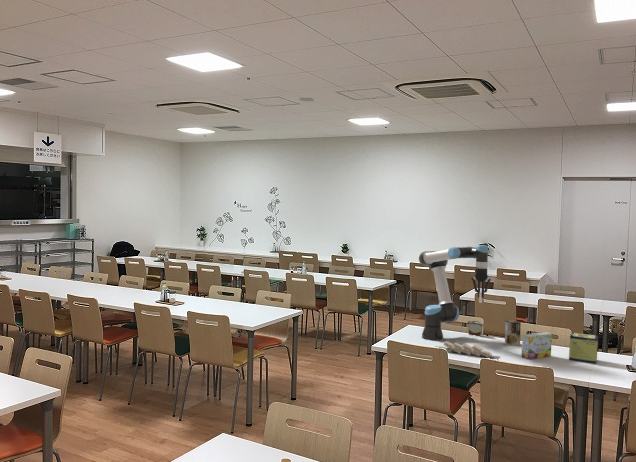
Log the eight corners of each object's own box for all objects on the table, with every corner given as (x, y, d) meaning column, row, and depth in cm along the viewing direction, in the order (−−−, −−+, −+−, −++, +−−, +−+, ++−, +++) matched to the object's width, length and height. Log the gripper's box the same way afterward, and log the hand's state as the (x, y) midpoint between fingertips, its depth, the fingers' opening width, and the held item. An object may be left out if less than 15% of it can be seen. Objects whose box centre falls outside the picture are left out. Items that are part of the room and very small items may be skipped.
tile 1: (489, 358, 328) (471, 349, 334) (491, 356, 333) (473, 347, 338) (490, 355, 328) (472, 346, 334) (492, 353, 332) (474, 344, 338)
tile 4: (460, 353, 337) (443, 345, 343) (462, 352, 342) (445, 343, 347) (461, 351, 337) (444, 342, 342) (463, 349, 341) (446, 340, 347)
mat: (447, 353, 339) (447, 353, 339) (451, 350, 348) (451, 349, 348) (497, 361, 323) (497, 360, 323) (500, 357, 333) (500, 356, 333)
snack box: (528, 360, 328) (529, 336, 327) (521, 358, 333) (521, 334, 332) (551, 356, 338) (552, 333, 337) (544, 354, 342) (545, 331, 342)
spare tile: (451, 352, 340) (433, 350, 346) (454, 350, 344) (436, 349, 350) (451, 349, 340) (433, 347, 346) (453, 347, 344) (435, 346, 350)
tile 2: (479, 356, 331) (462, 347, 337) (481, 355, 336) (464, 346, 341) (481, 354, 331) (463, 345, 336) (482, 352, 335) (465, 343, 341)
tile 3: (470, 355, 334) (452, 346, 340) (471, 353, 339) (454, 344, 344) (471, 352, 334) (453, 343, 339) (473, 350, 338) (455, 342, 344)
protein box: (596, 363, 323) (597, 338, 322) (568, 360, 330) (569, 335, 330) (597, 360, 332) (598, 335, 331) (569, 356, 339) (570, 332, 339)
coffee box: (517, 343, 371) (518, 320, 370) (520, 345, 364) (521, 322, 364) (504, 343, 372) (505, 320, 371) (506, 345, 365) (507, 322, 365)
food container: (486, 335, 393) (486, 322, 392) (482, 337, 388) (482, 323, 388) (470, 333, 401) (471, 320, 401) (466, 334, 397) (467, 321, 396)
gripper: (470, 267, 357) (469, 302, 357) (490, 269, 350) (489, 304, 351) (473, 266, 363) (472, 300, 364) (492, 268, 357) (491, 302, 358)
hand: (480, 302), depth 358 cm, fingers closed
